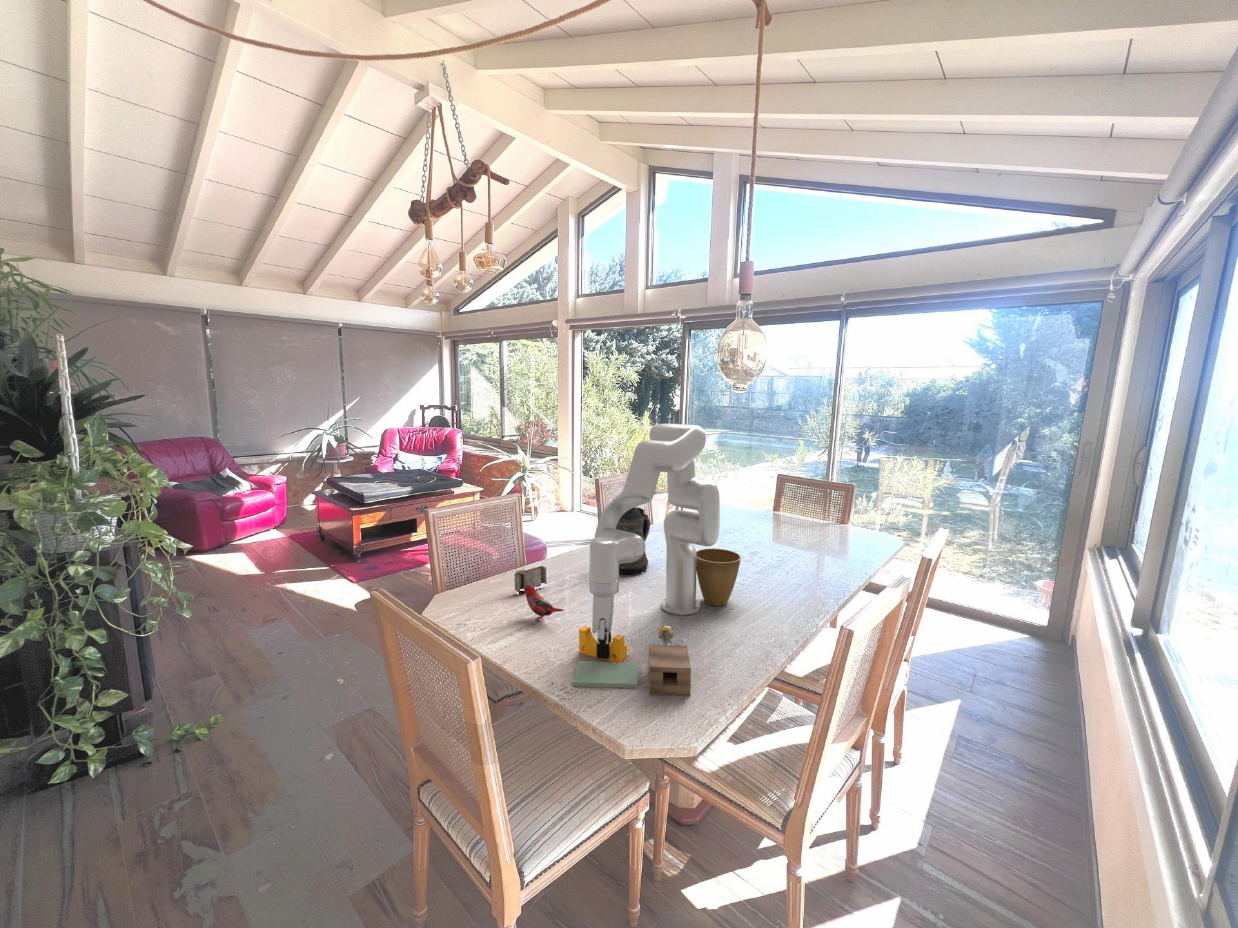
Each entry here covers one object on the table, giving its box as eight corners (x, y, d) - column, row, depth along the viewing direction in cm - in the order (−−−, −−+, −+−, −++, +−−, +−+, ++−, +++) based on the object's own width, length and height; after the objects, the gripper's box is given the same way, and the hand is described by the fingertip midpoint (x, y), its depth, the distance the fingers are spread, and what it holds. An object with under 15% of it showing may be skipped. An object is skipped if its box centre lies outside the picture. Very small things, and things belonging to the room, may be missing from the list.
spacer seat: (577, 665, 124) (577, 661, 123) (637, 666, 123) (637, 662, 123) (572, 685, 115) (572, 682, 115) (636, 687, 114) (636, 683, 114)
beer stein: (600, 573, 187) (599, 509, 184) (615, 557, 205) (615, 499, 202) (642, 578, 182) (642, 512, 179) (654, 561, 201) (654, 501, 197)
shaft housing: (649, 670, 121) (649, 644, 120) (686, 671, 121) (686, 645, 120) (649, 694, 111) (649, 666, 110) (690, 695, 111) (690, 667, 110)
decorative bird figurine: (528, 611, 154) (527, 581, 153) (567, 628, 143) (567, 595, 142) (520, 614, 152) (519, 584, 151) (560, 632, 141) (560, 599, 139)
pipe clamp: (627, 655, 128) (627, 632, 127) (619, 663, 124) (619, 639, 123) (587, 645, 133) (587, 622, 133) (579, 652, 130) (579, 629, 129)
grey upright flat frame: (520, 597, 166) (519, 570, 165) (515, 594, 168) (514, 567, 167) (547, 588, 174) (546, 562, 172) (542, 586, 176) (541, 560, 175)
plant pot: (740, 613, 153) (741, 563, 151) (692, 609, 156) (693, 560, 154) (738, 594, 167) (740, 549, 165) (694, 590, 170) (695, 546, 168)
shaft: (658, 638, 133) (658, 624, 132) (672, 638, 133) (673, 625, 132) (660, 669, 118) (660, 654, 117) (676, 670, 118) (677, 654, 117)
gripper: (593, 573, 135) (593, 635, 137) (585, 598, 118) (585, 668, 120) (620, 573, 134) (619, 636, 137) (617, 599, 117) (616, 670, 120)
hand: (603, 650), depth 128 cm, fingers closed on pipe clamp, 5 cm apart
